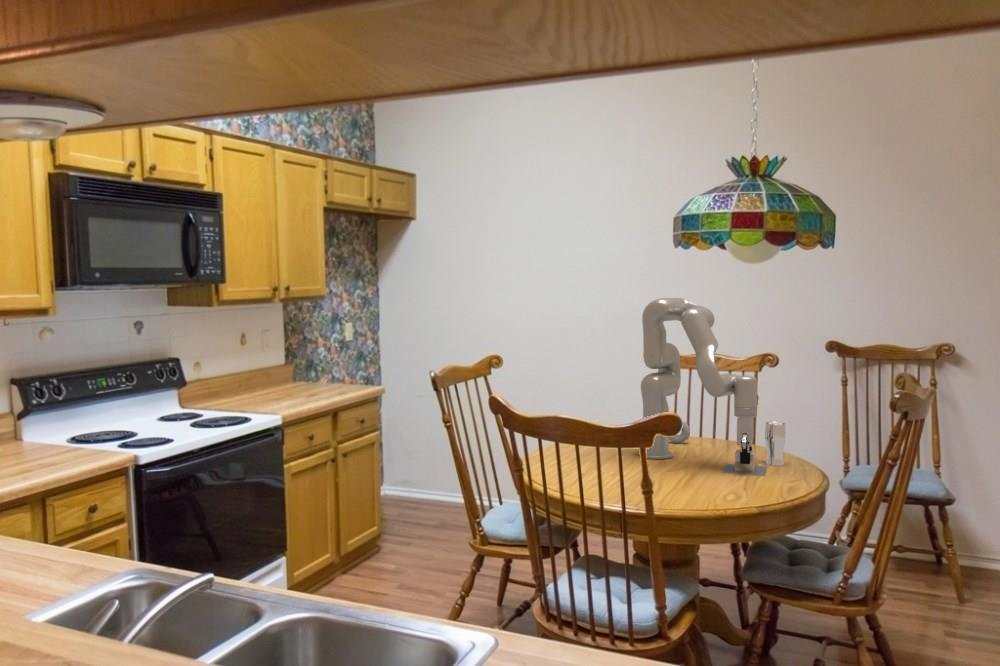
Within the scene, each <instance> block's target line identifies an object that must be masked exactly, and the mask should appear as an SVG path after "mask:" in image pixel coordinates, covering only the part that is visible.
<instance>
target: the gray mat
mask: <svg viewBox="0 0 1000 666" xmlns="http://www.w3.org/2000/svg"><path fill="white" fill-rule="evenodd" d="M767 469H768V466H763V465H754V472H744V471H735V463H725V464H724V467H723V469H722V471H721V473H723V474H734V475H736V474H737V475H748V476H756V477H757V476H758V477H759V476H762V477H766V474H767Z"/></svg>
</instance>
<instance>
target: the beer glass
mask: <svg viewBox="0 0 1000 666" xmlns="http://www.w3.org/2000/svg"><path fill="white" fill-rule="evenodd" d="M764 427H765V428H764V441H765V447H766V461H765V463H766V464H767V465H769V466H770V465H771V466H784V465H785V463H784V449H785V445H786V439H787V437H786V436H787V435H786V423H784V422H782V421H766V422H765V426H764Z"/></svg>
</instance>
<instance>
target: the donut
mask: <svg viewBox="0 0 1000 666" xmlns="http://www.w3.org/2000/svg"><path fill="white" fill-rule="evenodd" d="M690 434H691V429H690V427H689V424H688V423H687V422H686V421H684V420H683V428H682V430H681V433H680V434H676V436H674V437H669V442H672V443H674V444H682V443H684V442H686V441H687V440H688V439H689V438H690Z"/></svg>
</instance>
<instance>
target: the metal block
mask: <svg viewBox="0 0 1000 666" xmlns="http://www.w3.org/2000/svg"><path fill="white" fill-rule="evenodd" d="M740 452H741V449H740V450H739V449H736V450H735V454H734V464H735V471H744V472H754V466H755V462H756V461H755V458H756V457H755V455H756V454H755V450H752V451H749V452H750V464H740Z"/></svg>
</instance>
